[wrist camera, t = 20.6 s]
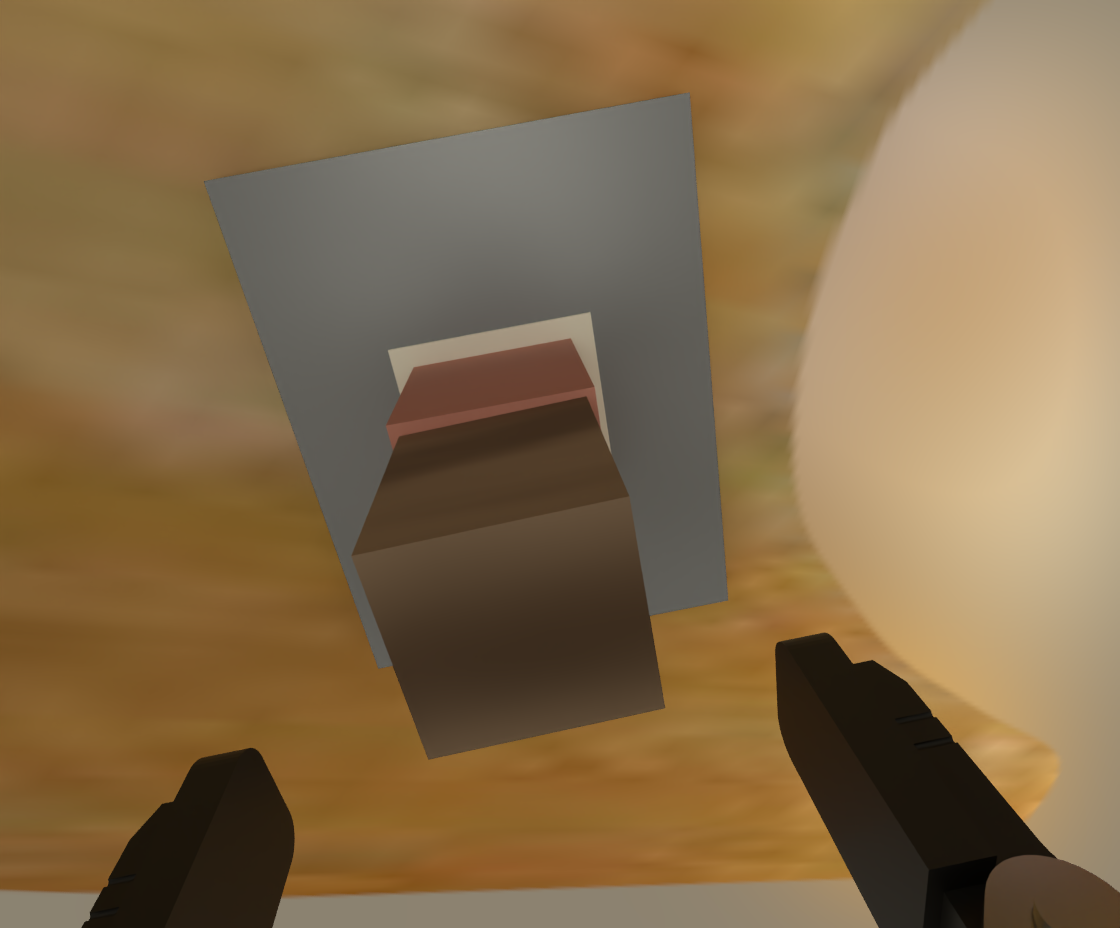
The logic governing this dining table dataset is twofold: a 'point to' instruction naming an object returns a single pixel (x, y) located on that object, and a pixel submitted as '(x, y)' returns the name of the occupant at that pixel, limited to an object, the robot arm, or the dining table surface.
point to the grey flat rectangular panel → (496, 306)
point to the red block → (490, 387)
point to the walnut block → (509, 579)
